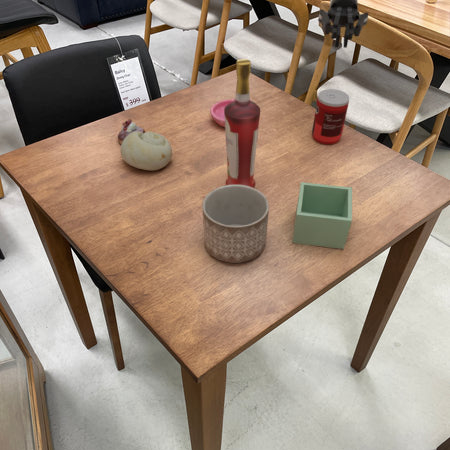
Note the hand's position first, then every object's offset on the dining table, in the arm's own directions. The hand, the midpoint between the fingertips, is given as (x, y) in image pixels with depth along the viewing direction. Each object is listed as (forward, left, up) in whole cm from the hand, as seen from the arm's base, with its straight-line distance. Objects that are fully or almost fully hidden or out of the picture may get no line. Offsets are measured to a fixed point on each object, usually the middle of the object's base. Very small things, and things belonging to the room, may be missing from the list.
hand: (341, 41), depth 107 cm
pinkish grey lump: (+18, +51, -20) cm, 58 cm away
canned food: (-7, +6, -20) cm, 22 cm away
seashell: (+6, +52, -20) cm, 56 cm away
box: (-35, +30, -20) cm, 50 cm away
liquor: (-14, +37, -20) cm, 45 cm away
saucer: (+13, +23, -20) cm, 33 cm away
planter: (-30, +48, -20) cm, 60 cm away
